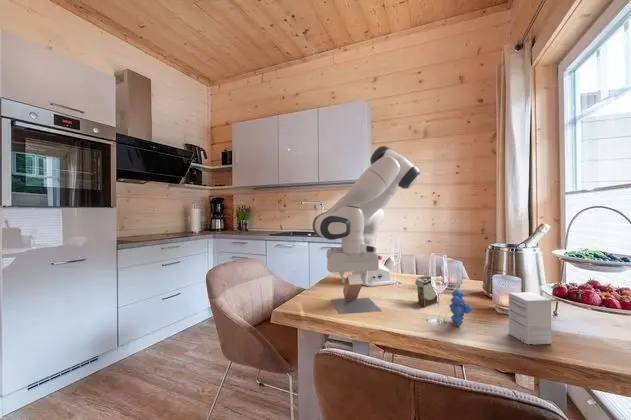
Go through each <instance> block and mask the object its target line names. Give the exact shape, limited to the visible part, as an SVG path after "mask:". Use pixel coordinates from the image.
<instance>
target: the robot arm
mask: <svg viewBox="0 0 631 420" xmlns="http://www.w3.org/2000/svg"><path fill="white" fill-rule="evenodd" d="M369 159H370V166H368V168H366V170H365V171H364V172H362V174H361V175H360V176H359V177H358V179H357V180H355V183H353V185H352V186H351V187H350V188H349V190H348V191H347V192H346V193H345V195H343V197H341V198H340V199H339V200H338V201H337V202H336V203H335V204H333V206H332V207H331V208H330V209H329V210H327V211H324V212H322V213H320V214H318V215H316V216H315V218H314V219H313V222H312V230H313V232H314V234H315V235H316V236H317V237H319V238H323V239H326V240H329V241H334V240H337V239H338V240H339V239H341V241H340V242H341V243H340V244H341V247H330V248H329V249H328V250H326V259H327V260H326V261H327V262H326V270H327V271H328V272H329V273H338V274H339V276H340V277H341V282H342V284H345V283H347V277H345V276H344V275H345V273H347V272H348V273H350V272H351V275H356V274H360V275H361V279H362V282H363V284H362V286H365V287H369V288H370V287H378V286H387V285H394V284H396V279H395V278H394V277H392V274H391V271H390V269H389V267H387V266H385V264H383V263H382V262H380V261H381V260H383V256H382V255H379V254H377V247H376V238H377V233H378V231H379V228H380V225H381V224H382V223H383V221H384V219H385V212H384V210H383V208H384V207H386V206H387V205H388V203H389V202H390V201H391V199H392V198H393V196H395V194H396V192H398V189H400V188H401V189H403V190H404V189H410V188H411V187H413V186H415V184H416V183H417V182H418V181H419V178H420V174H421V170H420V169H419V168H418V167H417V166H416V165H414V164H413V163H412V162H411V161H410V160H408V159H407V158H406V157H405V156H403V155H401V154H400V153H399V152H396V151H394V150H392V149H391V147H388V146H387V145H382V146H379V147H377V148H376V150H374V151H373V153H372V155H371V157H370V158H369Z"/></svg>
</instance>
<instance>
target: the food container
mask: <svg viewBox="0 0 631 420" xmlns="http://www.w3.org/2000/svg"><path fill="white" fill-rule="evenodd" d="M431 276H432V275H422V276H417V277H416V280H415V282H414V283H415V286H416V288H417V289H416V290H417V299H418V301H417V302H418V305H419V306H421V308H424V309H425V308H428V307H430V306H433V305H436V304H438V303H437V295H436V292H435V291H434V289H433V287H432V284H431Z"/></svg>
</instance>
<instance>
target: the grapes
mask: <svg viewBox="0 0 631 420" xmlns="http://www.w3.org/2000/svg"><path fill="white" fill-rule="evenodd" d="M451 296H452V297H451V299H450V301H451V304H449V308H450V311H451V313H452V314H453V315H452V316H450V319H451V321H452V323H453V324H454V325H455V326H457V327H460V326H461V325H462V324H464V321H463V320H464V319H465V317H464V316H465V314H466V315H467V314H470V313H471V312H472V311H473V308H472V307H471V306H470V305H469V304H468V303H467V304H465V300H464V299H463V297H464V296H465V295H464V294H463V292H462V291H461V290H460V289H455V290H454V291H452V292H451Z"/></svg>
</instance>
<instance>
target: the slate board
mask: <svg viewBox="0 0 631 420" xmlns="http://www.w3.org/2000/svg"><path fill="white" fill-rule="evenodd" d="M330 302H331V303H332V305H333V306H334V308H335V310H336V311H337V314H339V315H347V314H349V315H350V314H361V313H376V312H377V313H378V312H383V310H382V309H381V308H380V307H379V306H378V305H377V304H376V303H374V301H373V300H372V299H371V298H370V297H360V298H359V297H357V299H347V300H345V298H340V299H330Z"/></svg>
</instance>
